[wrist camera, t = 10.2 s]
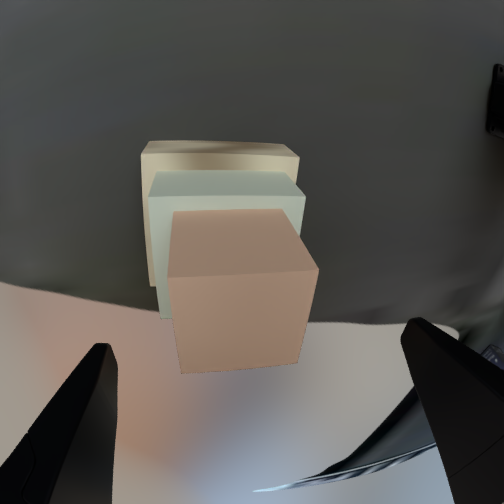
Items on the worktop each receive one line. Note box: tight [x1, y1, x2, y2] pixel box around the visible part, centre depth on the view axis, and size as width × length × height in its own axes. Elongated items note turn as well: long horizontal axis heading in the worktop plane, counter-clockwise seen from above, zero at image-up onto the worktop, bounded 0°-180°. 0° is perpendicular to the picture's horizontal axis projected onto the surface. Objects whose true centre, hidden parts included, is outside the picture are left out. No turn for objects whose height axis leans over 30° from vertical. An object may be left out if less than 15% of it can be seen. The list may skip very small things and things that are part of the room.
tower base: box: [141, 141, 299, 286], centre depth 19 cm, size 8×8×4 cm
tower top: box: [148, 170, 306, 319], centre depth 16 cm, size 6×6×4 cm
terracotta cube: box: [167, 209, 319, 374], centre depth 12 cm, size 4×4×4 cm
